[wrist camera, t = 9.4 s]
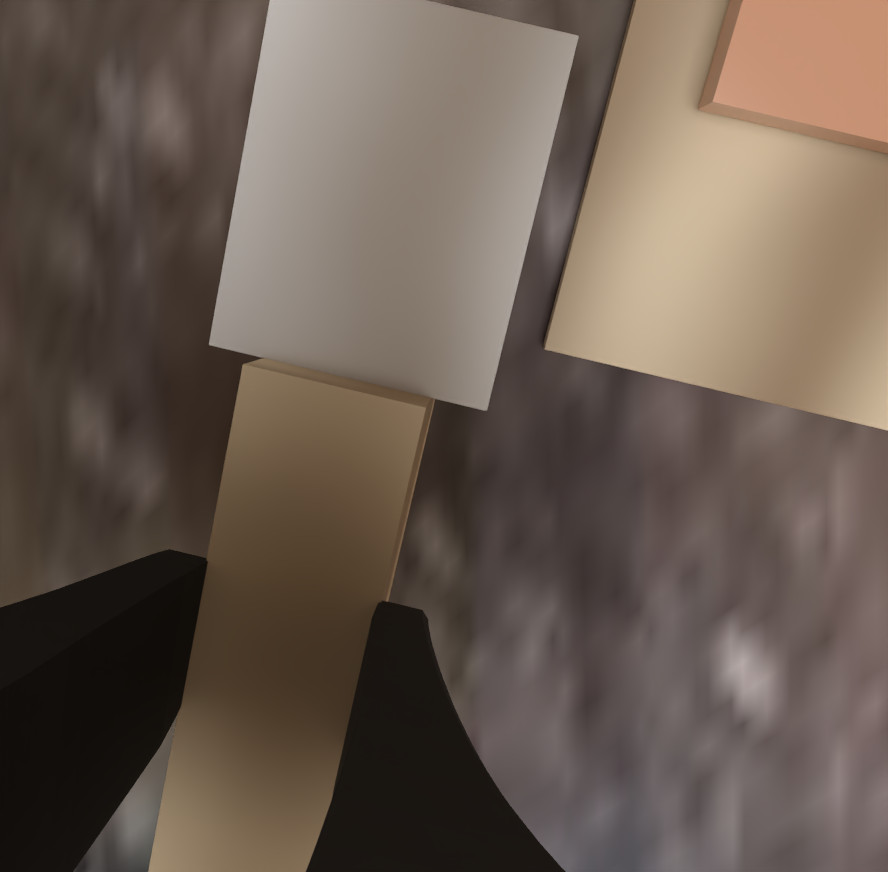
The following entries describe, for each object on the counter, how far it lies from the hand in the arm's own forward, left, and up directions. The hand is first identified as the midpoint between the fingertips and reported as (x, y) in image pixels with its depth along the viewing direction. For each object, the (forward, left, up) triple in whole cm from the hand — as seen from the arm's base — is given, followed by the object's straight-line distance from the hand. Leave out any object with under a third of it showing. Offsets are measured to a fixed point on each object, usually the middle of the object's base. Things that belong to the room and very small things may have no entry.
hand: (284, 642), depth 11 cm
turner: (0, +1, -3) cm, 3 cm away
